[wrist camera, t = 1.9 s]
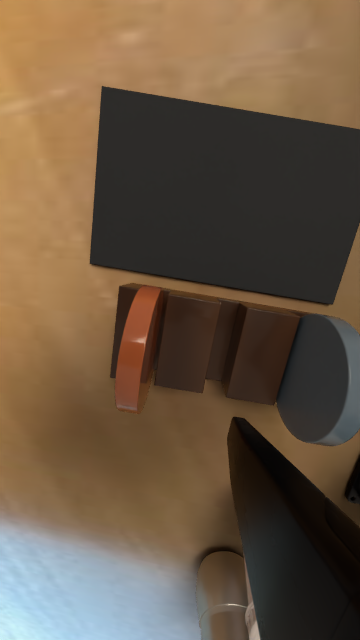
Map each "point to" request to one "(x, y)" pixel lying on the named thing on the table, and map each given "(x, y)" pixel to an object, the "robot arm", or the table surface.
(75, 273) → the table surface
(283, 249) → the grey mat
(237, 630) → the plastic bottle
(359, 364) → the blue-grey coaster
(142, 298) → the terracotta coaster
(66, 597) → the table surface
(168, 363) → the coaster rack
